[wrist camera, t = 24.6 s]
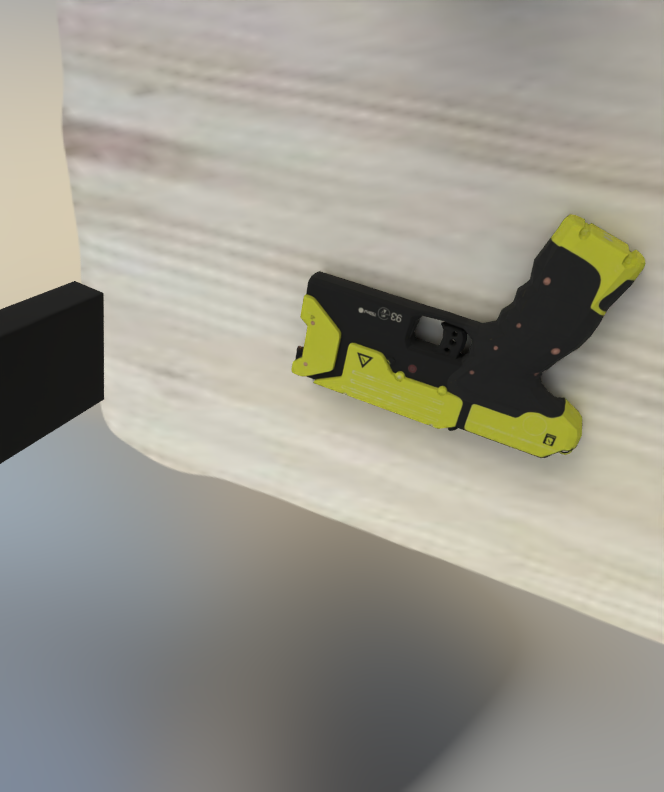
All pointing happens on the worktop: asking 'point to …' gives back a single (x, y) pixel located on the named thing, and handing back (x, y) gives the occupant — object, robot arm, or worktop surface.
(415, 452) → the worktop surface
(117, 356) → the worktop surface
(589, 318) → the stun gun
